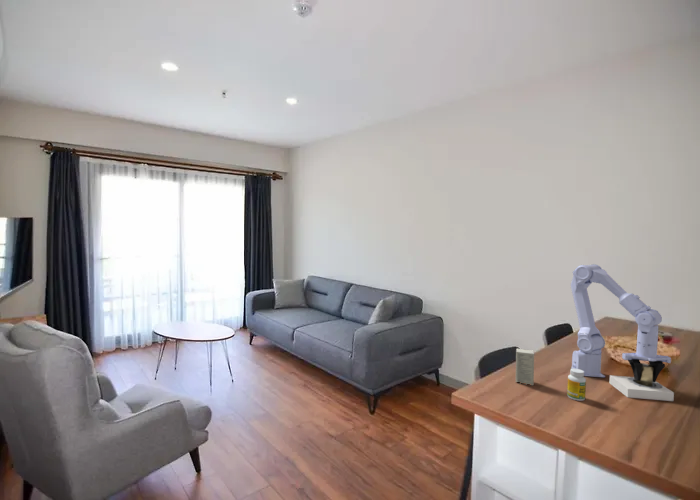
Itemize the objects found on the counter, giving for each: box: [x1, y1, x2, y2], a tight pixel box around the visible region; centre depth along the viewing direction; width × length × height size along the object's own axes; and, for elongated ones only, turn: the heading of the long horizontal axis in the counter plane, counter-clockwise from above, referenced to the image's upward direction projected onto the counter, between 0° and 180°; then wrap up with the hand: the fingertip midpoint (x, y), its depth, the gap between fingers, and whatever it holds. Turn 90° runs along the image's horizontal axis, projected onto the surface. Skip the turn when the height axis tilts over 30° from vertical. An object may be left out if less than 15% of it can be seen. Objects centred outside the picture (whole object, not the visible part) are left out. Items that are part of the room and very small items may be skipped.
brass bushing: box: [637, 362, 654, 387], centre depth 131 cm, size 4×4×8 cm
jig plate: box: [609, 374, 675, 402], centre depth 131 cm, size 14×12×3 cm
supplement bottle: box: [566, 368, 587, 402], centre depth 125 cm, size 5×5×10 cm
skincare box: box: [515, 348, 535, 386], centre depth 138 cm, size 6×4×12 cm
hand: (644, 380), depth 131 cm, fingers closed on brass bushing, 4 cm apart
